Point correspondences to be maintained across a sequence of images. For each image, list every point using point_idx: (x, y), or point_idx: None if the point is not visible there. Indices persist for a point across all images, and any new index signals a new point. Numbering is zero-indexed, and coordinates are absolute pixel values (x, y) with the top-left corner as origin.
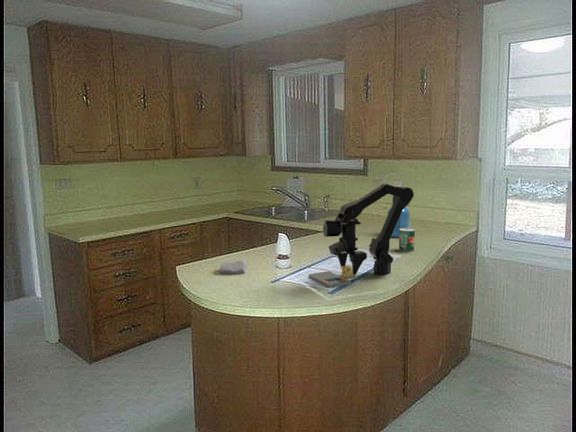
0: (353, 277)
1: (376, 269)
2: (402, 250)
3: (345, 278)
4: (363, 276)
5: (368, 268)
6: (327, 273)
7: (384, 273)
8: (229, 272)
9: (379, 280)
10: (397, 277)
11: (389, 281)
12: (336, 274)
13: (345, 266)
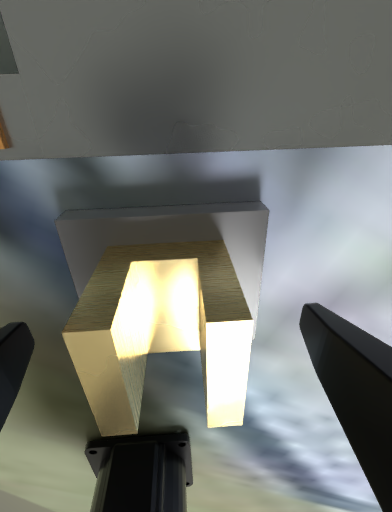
0: None
1: (110, 499)
2: None
3: (84, 219)
4: (169, 382)
5: (309, 450)
6: (345, 19)
7: (96, 485)
8: None
9: (38, 420)
10: (78, 488)
11: (3, 449)
12: (201, 151)
13: (208, 358)
